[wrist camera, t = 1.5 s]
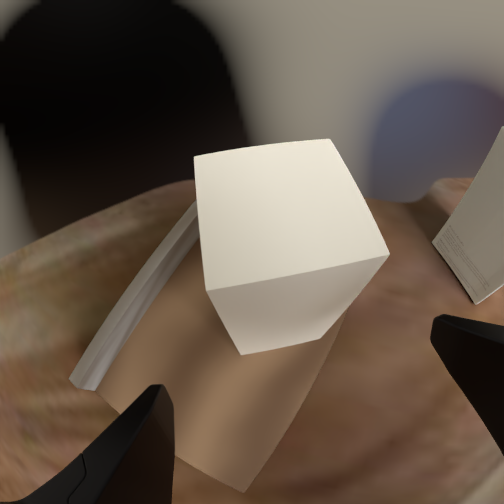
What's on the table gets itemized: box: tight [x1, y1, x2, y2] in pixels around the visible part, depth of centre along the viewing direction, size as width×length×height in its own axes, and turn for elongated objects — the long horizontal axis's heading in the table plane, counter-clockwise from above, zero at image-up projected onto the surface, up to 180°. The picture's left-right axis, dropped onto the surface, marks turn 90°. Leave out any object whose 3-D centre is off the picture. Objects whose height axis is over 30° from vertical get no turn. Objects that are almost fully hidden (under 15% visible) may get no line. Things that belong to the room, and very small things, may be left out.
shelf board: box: [69, 199, 350, 493], centre depth 18 cm, size 14×18×4 cm
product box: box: [194, 139, 390, 355], centre depth 14 cm, size 6×6×12 cm
